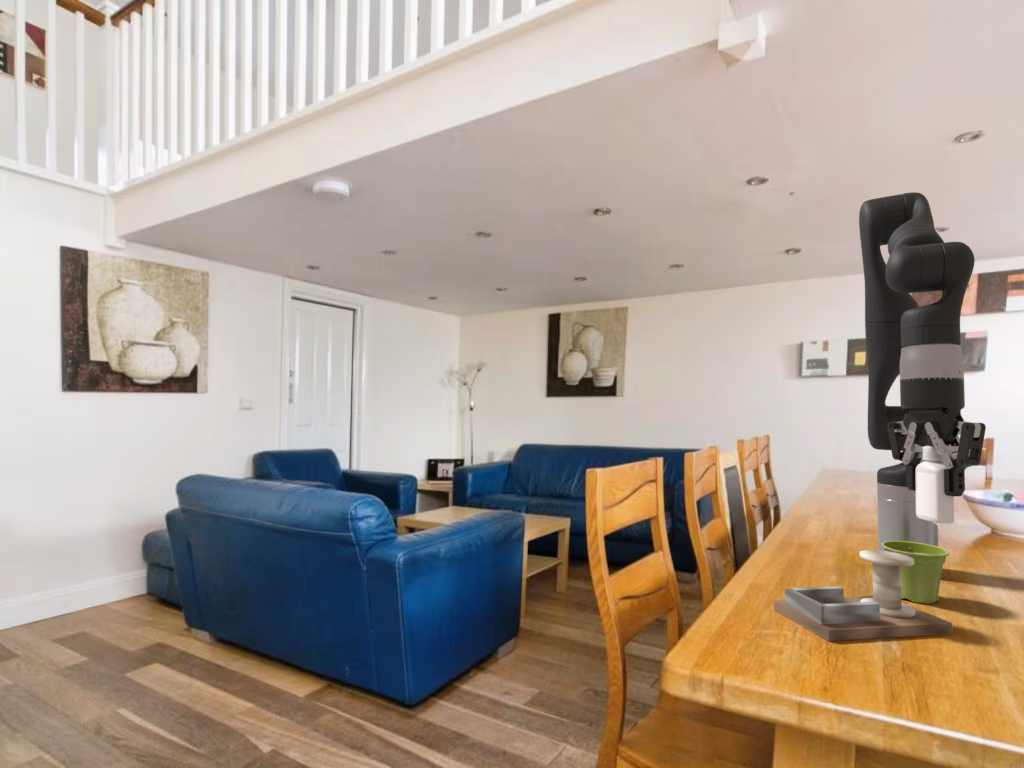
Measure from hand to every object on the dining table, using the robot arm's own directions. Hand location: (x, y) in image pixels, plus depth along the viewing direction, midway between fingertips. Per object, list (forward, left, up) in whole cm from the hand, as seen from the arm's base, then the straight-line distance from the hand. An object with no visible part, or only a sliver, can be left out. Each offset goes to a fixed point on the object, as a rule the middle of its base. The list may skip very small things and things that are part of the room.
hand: (934, 492), depth 80 cm
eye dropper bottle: (0, 0, -4) cm, 4 cm away
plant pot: (-11, -14, -21) cm, 27 cm away
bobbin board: (+7, -6, -20) cm, 22 cm away
